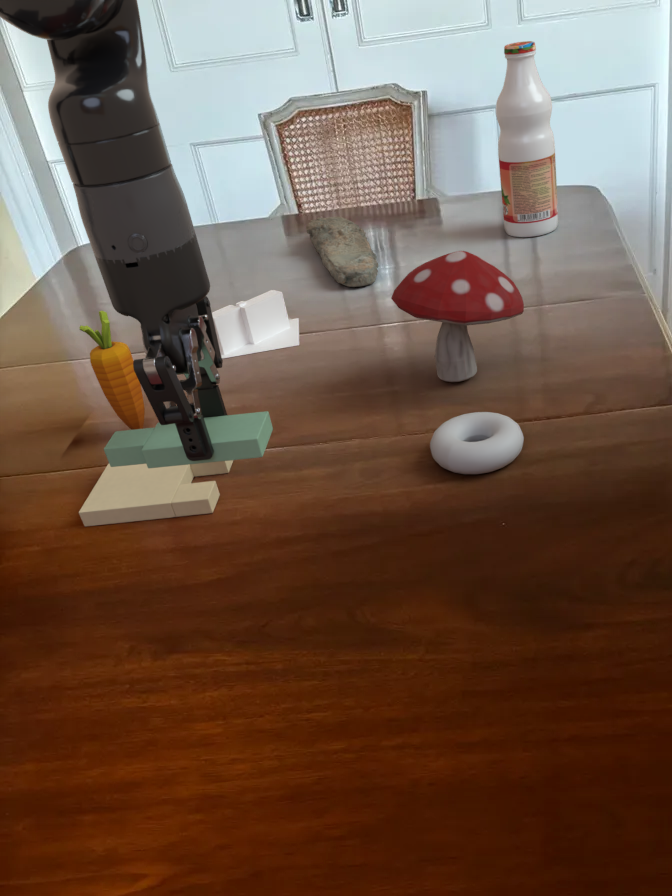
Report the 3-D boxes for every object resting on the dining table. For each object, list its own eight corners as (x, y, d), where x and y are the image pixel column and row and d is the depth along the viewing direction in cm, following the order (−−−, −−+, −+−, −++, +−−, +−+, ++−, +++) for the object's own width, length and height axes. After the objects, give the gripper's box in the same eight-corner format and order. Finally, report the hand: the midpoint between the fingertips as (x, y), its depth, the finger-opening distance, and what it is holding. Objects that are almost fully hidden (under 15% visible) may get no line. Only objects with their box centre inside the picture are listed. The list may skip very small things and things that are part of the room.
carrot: (130, 446, 108) (83, 327, 99) (112, 435, 112) (65, 318, 102) (166, 430, 111) (124, 312, 102) (148, 420, 114) (105, 304, 105)
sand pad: (235, 456, 103) (230, 442, 102) (213, 513, 94) (208, 498, 92) (118, 469, 104) (112, 456, 103) (84, 526, 95) (78, 512, 94)
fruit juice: (536, 240, 151) (525, 48, 134) (493, 235, 157) (477, 50, 139) (569, 224, 156) (562, 37, 139) (526, 219, 162) (514, 38, 145)
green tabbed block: (273, 429, 79) (268, 410, 78) (262, 457, 75) (257, 438, 74) (125, 444, 80) (118, 426, 79) (107, 472, 76) (99, 454, 75)
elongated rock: (331, 303, 143) (392, 293, 145) (327, 270, 140) (389, 260, 141) (302, 235, 169) (353, 227, 171) (297, 205, 166) (350, 198, 168)
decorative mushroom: (428, 348, 121) (411, 233, 112) (543, 349, 116) (535, 229, 107) (386, 402, 109) (364, 279, 100) (512, 406, 104) (500, 277, 95)
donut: (535, 437, 98) (449, 431, 101) (533, 408, 96) (446, 403, 99) (509, 485, 91) (418, 476, 94) (507, 455, 89) (414, 447, 92)
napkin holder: (298, 317, 136) (289, 279, 133) (300, 344, 128) (291, 305, 124) (200, 334, 136) (189, 297, 132) (195, 363, 127) (183, 324, 123)
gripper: (125, 217, 72) (188, 408, 83) (60, 276, 61) (143, 490, 72) (214, 205, 72) (267, 400, 82) (165, 264, 60) (234, 481, 71)
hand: (209, 441), depth 77 cm, fingers closed on green tabbed block, 5 cm apart
